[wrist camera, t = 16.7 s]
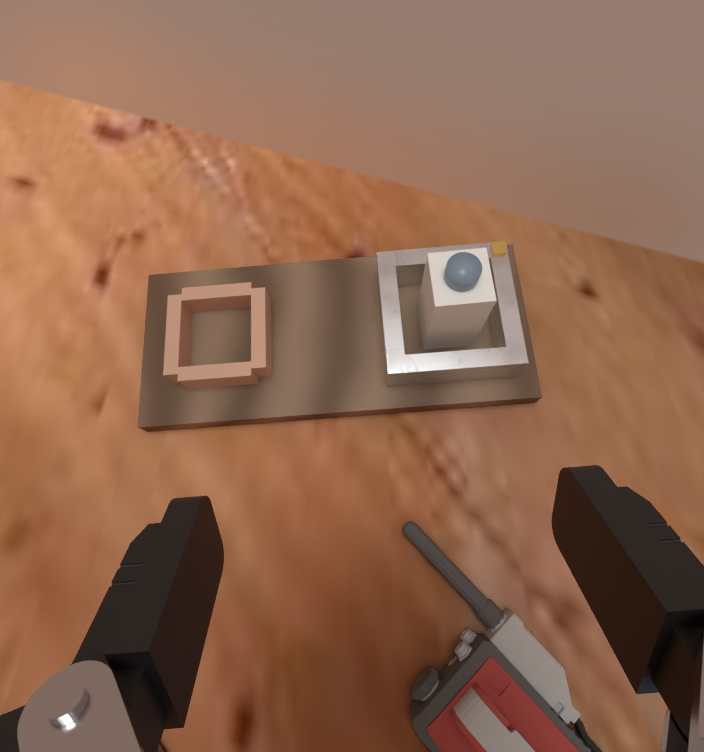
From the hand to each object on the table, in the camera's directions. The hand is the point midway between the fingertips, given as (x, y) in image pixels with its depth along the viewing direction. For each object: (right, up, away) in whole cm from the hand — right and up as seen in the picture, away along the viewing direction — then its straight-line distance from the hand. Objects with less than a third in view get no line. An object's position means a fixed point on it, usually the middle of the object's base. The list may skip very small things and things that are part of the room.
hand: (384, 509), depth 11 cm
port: (+6, +7, +23) cm, 25 cm away
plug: (+6, +7, +23) cm, 25 cm away
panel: (-2, +6, +25) cm, 26 cm away
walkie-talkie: (+7, -16, +18) cm, 25 cm away
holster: (-10, +6, +24) cm, 26 cm away
